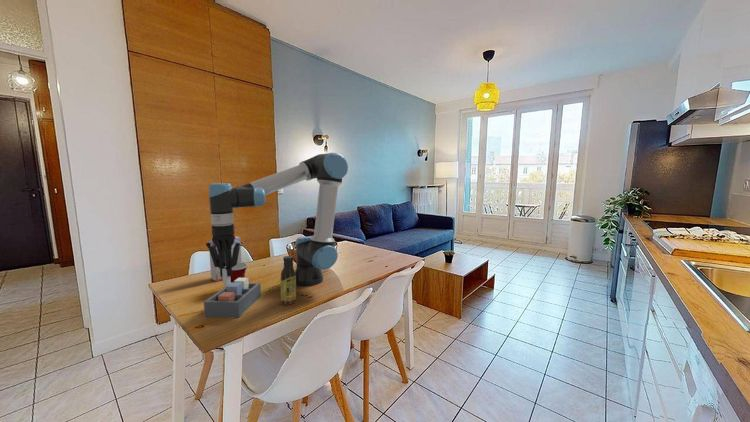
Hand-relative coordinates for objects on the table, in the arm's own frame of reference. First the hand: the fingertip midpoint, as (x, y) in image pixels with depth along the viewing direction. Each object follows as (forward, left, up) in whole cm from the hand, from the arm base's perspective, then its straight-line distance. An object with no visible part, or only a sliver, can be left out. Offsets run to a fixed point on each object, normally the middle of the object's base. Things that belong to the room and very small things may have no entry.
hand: (227, 284), depth 111 cm
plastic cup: (+8, -23, -12) cm, 27 cm away
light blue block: (0, -6, -8) cm, 9 cm away
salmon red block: (0, 0, -9) cm, 9 cm away
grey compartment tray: (0, -6, -12) cm, 13 cm away
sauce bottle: (-21, -10, -12) cm, 26 cm away
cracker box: (+21, -39, -12) cm, 46 cm away
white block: (0, -12, -8) cm, 14 cm away
